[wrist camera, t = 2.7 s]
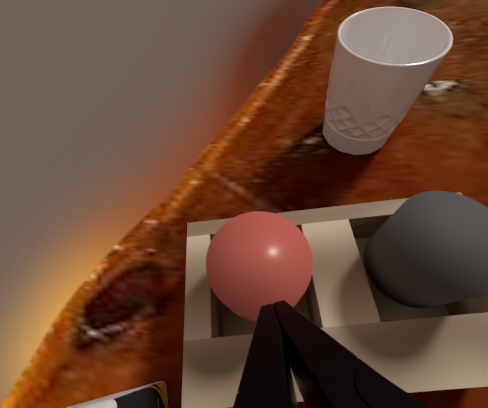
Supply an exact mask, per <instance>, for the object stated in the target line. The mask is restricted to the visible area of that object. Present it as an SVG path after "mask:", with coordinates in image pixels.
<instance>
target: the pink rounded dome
mask: <svg viewBox="0 0 488 408" xmlns="http://www.w3.org/2000/svg"><path fill="white" fill-rule="evenodd" d="M312 271H313V258H312V252H311V249H310V246H309V243H308V241H307V239H306V238H305V236H304V234H303V233H302V232H301V231H300V229H299V228H298V227H297V226H296V225H295V224H293V223H292V222H291V221H289V220H288V219H286V218H284V217H282V216H280V215H277V214H274V213H270V212H262V211H257V212H248V213H244V214H241V215H239V216H236V217H234V218H232V219H231V220H229V221H228V222H226V223H225V224H224V225H223V226H222V227H221V228H220V229H219V230H218V231H217V232H216V234H215V235H214V237H213V238H212V240H211V243H210V245H209V248H208V251H207V256H206V273H207V277H208V281H209V283H210V286H211V288H212V290H213V291H214V293H215V294H216V296H217V297H218V298H219V299H220V300H221V301H222V303H224V304H225V305H226V306H227V307H228V308H230V309H231V310H232V311H233V312H235V313H236V314H237V315H238V316H239V317H241V318H243V319H244V320H247V321H249V322H253V323H256V322H257V318H258V315H259V311H260V308H261V306H263V305H266V304H270V303H271V304H273V303H274V302H277V301H281V300H285V301H286V302H287V303H289V304H290V305H291V306H292V307H295V306H296V304H297V303H298V301H299V300H300V299H301V297H302V296H303V294H304V293H305V291H306V289H307V288H308V285H309V283H310V280H311V276H312Z"/></svg>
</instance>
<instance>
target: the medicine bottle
mask: <svg viewBox="0 0 488 408" xmlns="http://www.w3.org/2000/svg"><path fill="white" fill-rule="evenodd" d="M67 408H168V399H167V385H166V383H165V382H164V381H158V382H155V383H151V384H148V385H144V386H141V387H137V388H134V389H130V390H126V391H123V392H119V393H116V394H112V395H109V396H105V397H102V398H98V399H95V400H91V401H88V402H84V403H81V404H77V405H74V406H70V407H67Z"/></svg>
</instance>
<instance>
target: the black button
mask: <svg viewBox="0 0 488 408" xmlns="http://www.w3.org/2000/svg"><path fill="white" fill-rule="evenodd" d="M364 265H365V269H366V271H367V274H368V276H369V278H370V279H371V281H372V282H373V284H374V285H375V286H376V287H377V288H378V290H380V291H381V292H382V293H383V294H384V295H385V296H387V297H388V298H389V299H391V300H393V301H395V302H397V303H399V304H401V305H404V306H407V307H412V308H428V307H433V306H438V305H443V304H447V303H452V302H456V301H461V300H466V299H470V298H475V297H480V296H484V295H488V208H487V207H485V206H484V205H482V204H481V203H479V202H477V201H475V200H473V199H471V198H468V197H466V196H463V195H460V194H456V193H452V192H446V191H428V192H423V193H419V194H417V195H414V196H412V197H411V198H409V199H408V200H406V201H405V202H404V203H403V204H402V205H401V206H400V207H399V208H398V209H397V210H396V211H395V212H394V213H393V214H392V216H391V217H390V218H389V219H388V220H387V221H386V222H385V223H384V224H383V225H382V226H381V227H380V228H379V229H378V230H377V231H376V232H375V233H374V234H373V235H372V236H371V237H370V239H369V240H368V242H367V244H366V246H365V249H364Z"/></svg>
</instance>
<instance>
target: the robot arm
mask: <svg viewBox="0 0 488 408" xmlns="http://www.w3.org/2000/svg"><path fill="white" fill-rule="evenodd" d="M291 371H292V373H291ZM292 374H293V376H294V379H295V381H296V384H297V386H298V388H299V391H300V393H301V395H302V398H303V400H304V402H305V405H306V407H307V408H431V407H429V406H428V405H426V404H424V403H423V402H421V401H420V400H418V399H417V398H415V397H413V396H412V395H410V394H409V393H407V392H406V391H404V390H403V389H401V388H400V387H398V386H397V385H395V384H394V383H392V382H391V381H389V380H388V379H386V378H385V377H384V376H382V375H381V374H379V373H378V372H377V371H375V370H374V369H373V368H371V367H370V366H369V365H367V364H366V363H365V362H364V361H362V360H361V359H360V358H357V356H356V355H354V354H353V353H352V352H351V351H349V350H348V349H347V348H345V347H344V346H343V345H341V344H340V343H339V342H338V341H336V340H335V339H334V338H332V337H331V336H330V335H329V334H327V333H326V332H325V331H323V330H322V329H321V328H320V327H318V326H317V325H316V324H314V323H313V322H312V321H311V320H309V319H308V318H307V317H305V316H304V315H303V314H302V313H300V312H299V311H298V310H296V309H295V308H294V307H292V306H291V305H290V304H289V303H287V302H286V301H285V300H281V301H277V302H274V303H273V304H271V303H270V304H266V305H263V306H261V308H260V311H259V315H258V318H257V322H256V326H255V329H254V333H253V337H252V340H251V344H250V348H249V351H248V355H247V358H246V362H245V366H244V369H243V373H242V377H241V380H240V384H239V388H238V393H237V394H236V398H235V402H234V405H233V408H298V404H297V399H296V393H295V388H294V382H293V377H292Z"/></svg>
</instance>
